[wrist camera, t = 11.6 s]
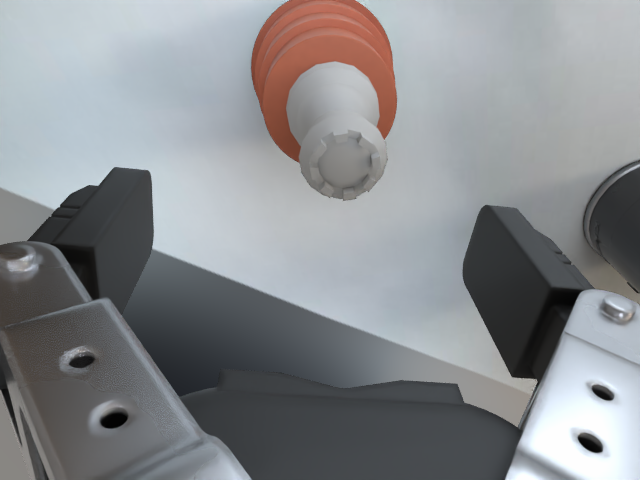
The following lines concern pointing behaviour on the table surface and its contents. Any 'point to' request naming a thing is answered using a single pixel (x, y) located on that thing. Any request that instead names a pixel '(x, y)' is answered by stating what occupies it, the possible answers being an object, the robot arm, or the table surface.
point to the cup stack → (319, 58)
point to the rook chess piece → (337, 130)
